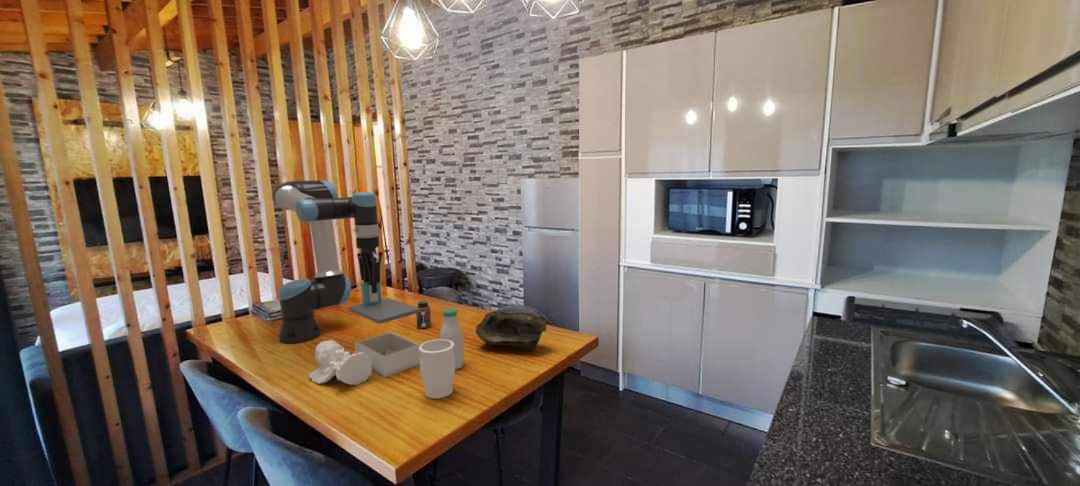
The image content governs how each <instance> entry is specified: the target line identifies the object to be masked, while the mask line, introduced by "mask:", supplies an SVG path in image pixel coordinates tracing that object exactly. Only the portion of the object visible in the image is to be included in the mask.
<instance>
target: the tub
mask: <svg viewBox="0 0 1080 486" xmlns="http://www.w3.org/2000/svg"><path fill="white" fill-rule="evenodd" d="M420 345H421V344H420V343H417V342H415V341H413V340H410V339H409V338H406V337H404V336H402V335H399V334H397V333H395V332H392V331H389V332H385V333H381V334H379V335H375V336H372V337H368V338H365V339H362V340H359V341H355V342H354V351H355V353H359V352H363V353H364V354H365V356H368V357H369V358H370V359H371V361H372V365H371V368H372V371H371V372H374V373H375V374H377V375H379V376H381V377H383V378H387V377H390V376H392V375H395V374H397V373H400V372H403V371H406V370H408V369H410V368H414V367H417V366H418V365H419V366H420V355H421V353H420V352H419V346H420ZM376 349H378V350H384V351H385V352H386V355H385V356H384V355H382V354H380V353H378V352H376V351H374V350H376ZM393 352H394V353H393Z"/></svg>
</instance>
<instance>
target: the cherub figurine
mask: <svg viewBox="0 0 1080 486" xmlns="http://www.w3.org/2000/svg"><path fill="white" fill-rule="evenodd" d="M314 358H315V360H316V362H317V363H318V364H320V365H319V367H318V368H316V369H314V370H312V371H311V372H310V373H309V375H308V378H309V379H310V380H311V381H312V382H313V383H316V384H318V385H319V384H320V385H321V384H326V383H328V382H329V381H331V380H332V378H333V377H336V379H337V380H338V381H341V383H344V384H347V385H350V386H352V385H355V386H357V385H359V384H361V383H363V382H364V383H365V382H366V381H367V380H368V378H369V377H371V375H372V372H373V371H372V368H371V365H372V361H371V359H370V358H369V357H368V356H365V354H364V353H363V352H359V353H356V352H355V353H353V354H351V353H350V352H349V351H345V348H344V346H342V345H341V344H339V343H338V342H337V341H335V340H332V339H329V340H323V341H321V342H319V343H318V344H317V345H316V346H315V348H314Z"/></svg>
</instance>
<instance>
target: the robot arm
mask: <svg viewBox="0 0 1080 486" xmlns="http://www.w3.org/2000/svg"><path fill="white" fill-rule="evenodd" d="M337 191H338V190H337V189H336V187H335V185H334V184H333V183H332V182H331V181H329V180H321V179H320V180H319V179H318V180H290V181H286V182H283V183H281V184H279V185H278V186H277V187H275V189H274V190H273V193H272V202H273V203H274V204H275V205H276V206H277V207H279V208H280V209H283V210H285V211H293V212H295V214H296V217H297V220H298V221H300V222H308V223H309V225H310V232H311V239H312V244H313V251H314V259H315V264H316V265H315V266H316V274H315V275H314V276H313V280H314V281H312V280H311V279H308V278H303V279H297V280H295V279H294V280H292V281H289V282H286V283H284V284H283V285H281V286H280V287H279V289H278V300H279V303H280V304H279V305H280V314H281V315H280V316H281V325H280V329H279V331H278V332H279V333H278V341H279V342H280V343H282V344H298V343H305V342H308V341H312V340H314V339H316V338H318V337H319V336H320V335H321V332H322V331H321V327H320V326H319V323H318V321H317V320H316V318H315V311H314V310H319V309H323V308H329V307H333V306H338V305H341V304H345V303H347V302H348V301H349V299H350V296H351V292H352V287H351V285H352V284H351V281H350V278H349V277H348V276H346V275H345V273H344V272H343V271H342V270H341V269H340V266H339V259H338V253H337V252H338V251H337V246H336V245H337V244H336V239H335V237H336V236H335V231H334V230H335V229H334V224H333V220H342V219H344V220H345V219H353V220H354V229H353V230H354V232H355V236H356V238H355V243H356V244H355V245H356V248H357V249H360V252H359V253H356V256H357V259H358V267H359V271H360V272H359V273H360V279H361V281H363V283H364V282H369V281H370V283H368V285H369V297H370V302H375V301H378V293H377V283H380V284H381V261H382V257H381V256H378V255H377V248H379V247H380V239H379V236H378V235H379V234H380V233H379V224H378V223H379V222H378V207H377V206H378V205H377V204H378V203H377V198H376V193H374V192H373V191H372V192H371V191H368V192H367V191H366V192H365V191H363V192H359V191H358V192H354V193H352V196H345V197H339V194H338V192H337Z"/></svg>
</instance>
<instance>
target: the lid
mask: <svg viewBox="0 0 1080 486" xmlns="http://www.w3.org/2000/svg"><path fill="white" fill-rule="evenodd" d="M368 283H370V281H369V282H364V281H363V282H361V299H362V303H361V304H357V305H353V306H349V307H348V311H350V312H352V313H354V314H356V315H359V316H361V317H363V318H365V319H367V320H369V321H372V322H374V323H376V324H379V325H380V324H385V323H387V322H388V323H389V322H391V321H394V320H399V319H402V318H405V317H409V316H412V315H415V314H416V313H419V312H420V309H418V308H417V307H415V306H412V305H409V304H407V303H405V302H401V301H398V300H397V299H393V298H390V297H387V298H382V291H381V290H382V289H381V282H380V283H377V293H378V301H375V302H370V297H369V285H368Z"/></svg>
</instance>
